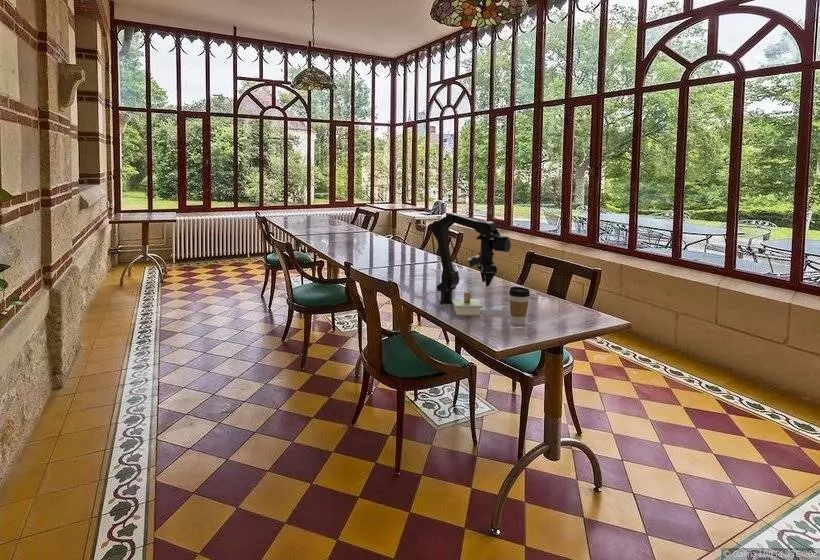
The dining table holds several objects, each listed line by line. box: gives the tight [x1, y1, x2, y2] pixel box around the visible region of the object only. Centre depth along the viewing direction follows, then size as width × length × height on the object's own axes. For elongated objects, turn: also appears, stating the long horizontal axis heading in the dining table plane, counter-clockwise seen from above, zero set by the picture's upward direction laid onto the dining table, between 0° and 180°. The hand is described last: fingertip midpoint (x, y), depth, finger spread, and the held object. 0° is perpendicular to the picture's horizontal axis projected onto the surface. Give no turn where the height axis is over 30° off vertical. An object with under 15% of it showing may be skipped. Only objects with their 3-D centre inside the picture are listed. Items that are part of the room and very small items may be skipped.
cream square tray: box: [453, 305, 481, 317], centre depth 237 cm, size 10×10×4 cm
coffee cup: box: [508, 286, 531, 326], centre depth 221 cm, size 8×8×15 cm
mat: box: [480, 309, 510, 318], centre depth 237 cm, size 12×12×1 cm
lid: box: [452, 291, 484, 309], centre depth 236 cm, size 12×12×6 cm
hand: (485, 284), depth 241 cm, fingers open, 9 cm apart
